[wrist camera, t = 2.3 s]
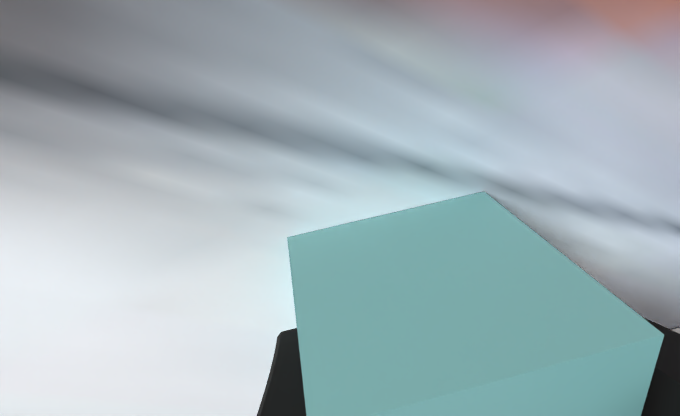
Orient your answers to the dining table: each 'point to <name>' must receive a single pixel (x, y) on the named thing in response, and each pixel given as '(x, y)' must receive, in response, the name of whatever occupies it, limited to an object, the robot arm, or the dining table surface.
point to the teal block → (460, 320)
